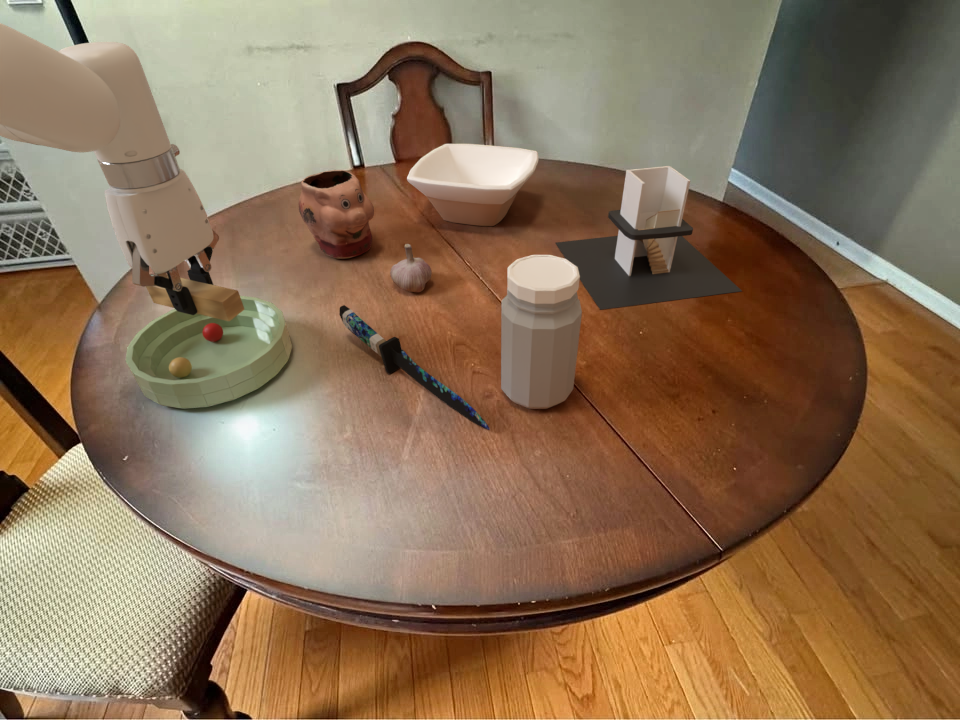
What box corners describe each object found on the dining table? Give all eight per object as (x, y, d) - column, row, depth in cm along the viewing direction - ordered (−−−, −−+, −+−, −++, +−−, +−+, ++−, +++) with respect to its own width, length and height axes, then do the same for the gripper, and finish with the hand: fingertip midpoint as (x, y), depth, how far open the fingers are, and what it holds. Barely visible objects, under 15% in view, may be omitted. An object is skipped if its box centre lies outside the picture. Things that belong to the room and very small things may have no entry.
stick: (153, 303, 75) (144, 284, 73) (170, 292, 78) (162, 273, 76) (229, 321, 71) (221, 302, 70) (245, 309, 74) (238, 290, 72)
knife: (339, 329, 84) (335, 305, 81) (356, 321, 86) (353, 297, 83) (472, 454, 68) (474, 431, 65) (490, 441, 70) (492, 418, 67)
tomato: (206, 347, 82) (200, 332, 80) (205, 337, 84) (199, 322, 82) (226, 342, 83) (220, 327, 81) (225, 332, 85) (219, 317, 83)
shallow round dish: (137, 431, 70) (120, 401, 67) (144, 342, 85) (130, 315, 82) (303, 386, 76) (294, 357, 73) (282, 310, 91) (274, 284, 88)
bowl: (517, 244, 108) (518, 191, 101) (401, 229, 114) (395, 178, 107) (544, 197, 125) (547, 149, 119) (442, 187, 131) (439, 141, 125)
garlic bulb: (425, 298, 93) (421, 255, 88) (384, 294, 94) (377, 252, 89) (437, 276, 99) (434, 234, 94) (398, 272, 100) (393, 231, 95)
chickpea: (173, 384, 76) (165, 368, 74) (173, 372, 78) (165, 356, 76) (195, 378, 76) (188, 362, 75) (194, 366, 78) (187, 351, 77)
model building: (600, 309, 89) (613, 213, 79) (554, 242, 108) (560, 157, 98) (742, 291, 93) (772, 196, 82) (674, 229, 111) (692, 145, 101)
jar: (588, 389, 74) (604, 270, 63) (539, 425, 69) (547, 303, 58) (533, 356, 80) (539, 242, 69) (484, 388, 75) (482, 270, 64)
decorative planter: (285, 242, 110) (267, 172, 102) (336, 222, 117) (323, 155, 109) (347, 274, 100) (332, 200, 91) (398, 250, 107) (389, 179, 98)
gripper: (172, 142, 70) (218, 271, 81) (52, 191, 58) (126, 333, 70) (218, 148, 67) (260, 280, 79) (103, 200, 56) (172, 345, 67)
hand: (197, 303), depth 74 cm, fingers closed on stick, 3 cm apart
